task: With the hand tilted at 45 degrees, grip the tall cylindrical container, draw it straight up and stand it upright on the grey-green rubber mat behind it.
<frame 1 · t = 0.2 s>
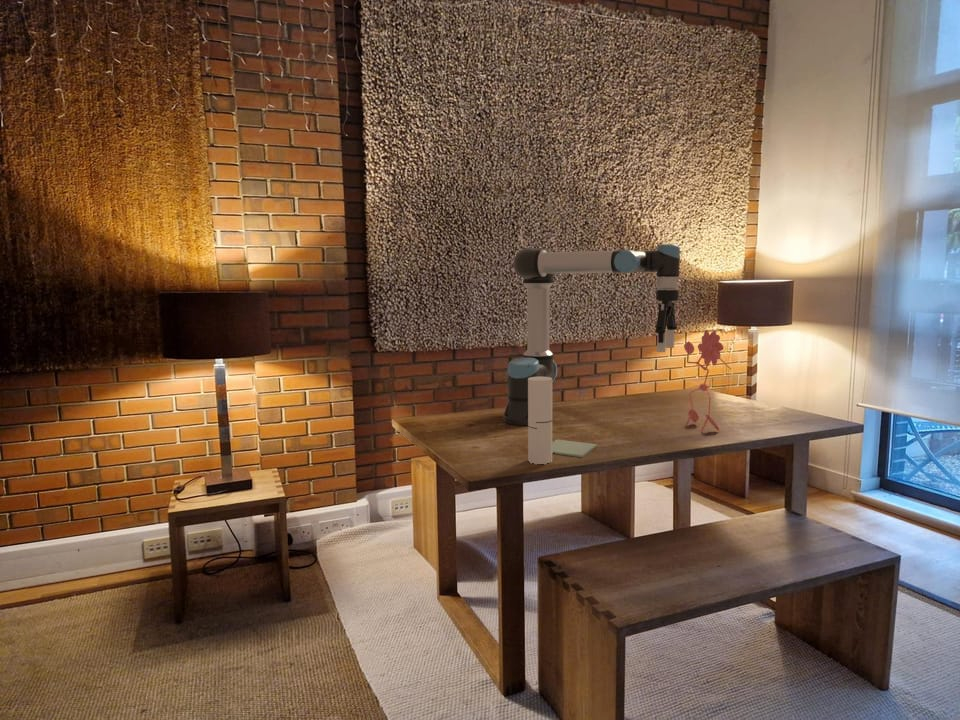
hand: (665, 350, 225), 28 cm above the table, fingers open, 13 cm apart
cylindrical container: (540, 461, 191), on the table
rubber mat: (569, 448, 203), on the table
figurine: (709, 428, 228), on the table
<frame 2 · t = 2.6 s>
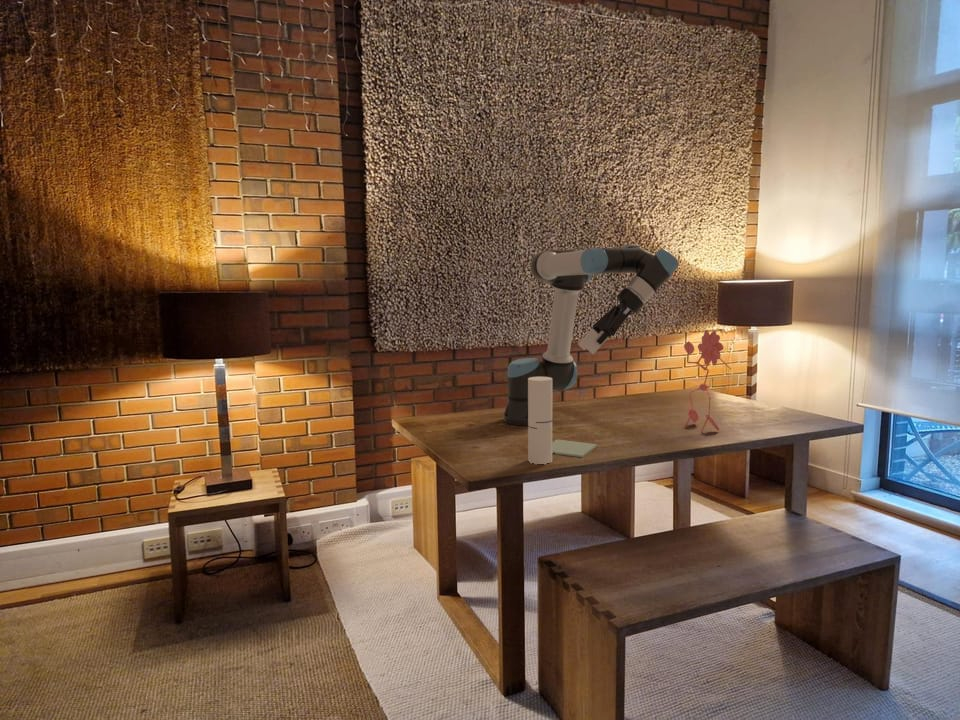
hand: (584, 349, 187), 33 cm above the table, fingers open, 13 cm apart
nothing on the table moved.
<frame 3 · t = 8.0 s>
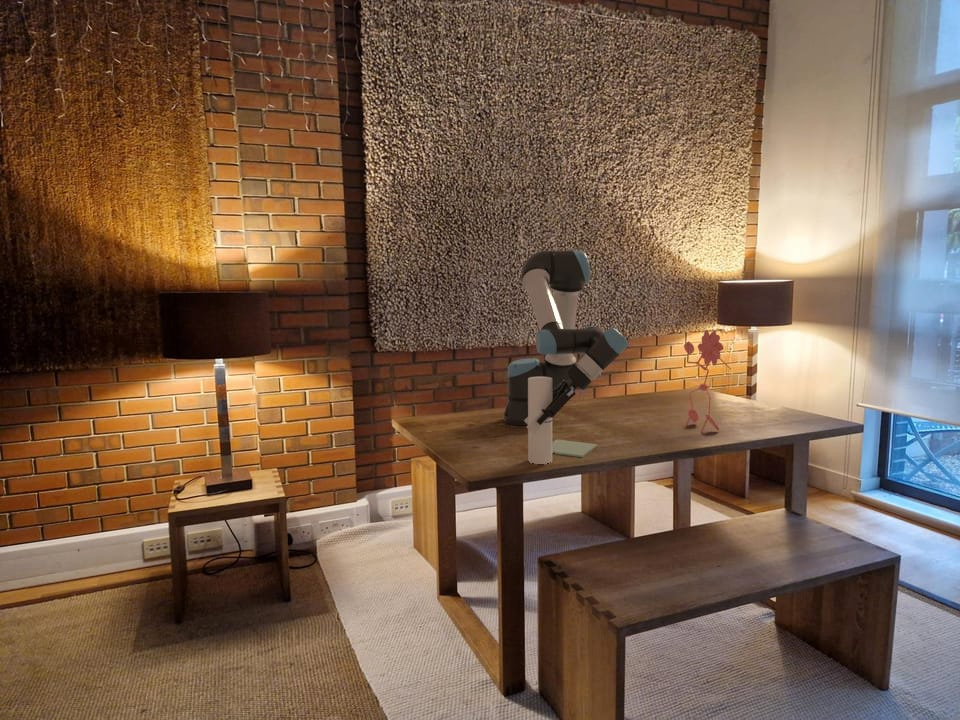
hand: (528, 426, 189), 11 cm above the table, fingers closed on cylindrical container, 7 cm apart
cylindrical container: (540, 461, 191), on the table, touching gripper
everything else where it was.
when the fingers open (12 cm above the table, at t = 16.3 s): cylindrical container drops 1 cm, resting on rubber mat.
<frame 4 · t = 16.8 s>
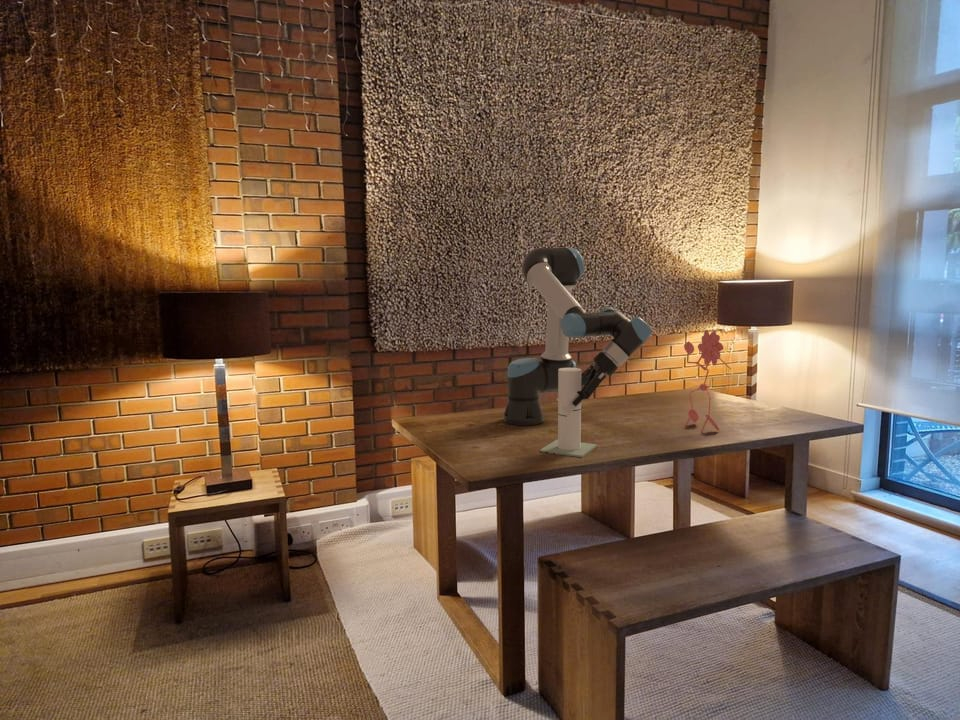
hand: (561, 407, 201), 14 cm above the table, fingers open, 13 cm apart
cylindrical container: (569, 447, 203), resting on rubber mat
everything else where it was.
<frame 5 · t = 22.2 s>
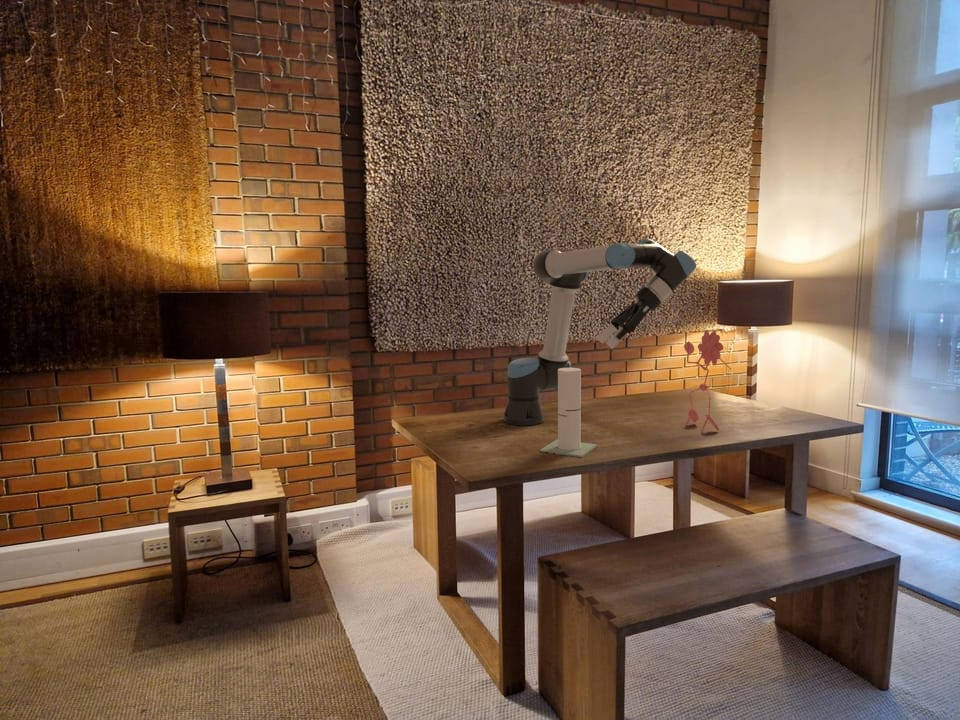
hand: (603, 343, 199), 34 cm above the table, fingers open, 13 cm apart
nothing on the table moved.
at the end: cylindrical container inside the target area on the rubber mat (0.1 cm from its centre), point 0.4 cm above the rubber mat's base; cylindrical container tilted 0°; the gripper is holding nothing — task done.
